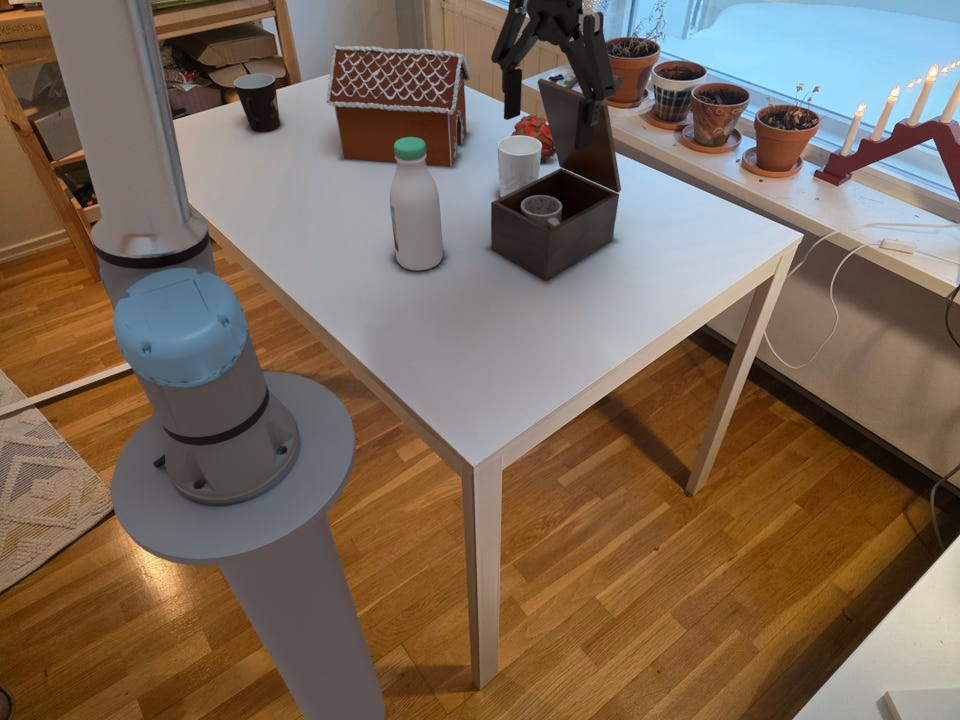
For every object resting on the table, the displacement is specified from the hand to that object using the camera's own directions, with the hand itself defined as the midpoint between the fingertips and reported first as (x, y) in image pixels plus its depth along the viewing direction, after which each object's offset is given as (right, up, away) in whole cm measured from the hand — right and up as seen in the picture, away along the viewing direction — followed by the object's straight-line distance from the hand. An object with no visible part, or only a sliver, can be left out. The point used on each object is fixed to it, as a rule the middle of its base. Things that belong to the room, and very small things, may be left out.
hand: (546, 131), depth 92 cm
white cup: (-2, -2, +30) cm, 30 cm away
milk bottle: (-19, -16, +15) cm, 29 cm away
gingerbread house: (-25, +13, +46) cm, 54 cm away
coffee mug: (-58, +19, +53) cm, 81 cm away
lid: (+6, +2, +8) cm, 10 cm away
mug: (+1, -14, +16) cm, 21 cm away
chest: (+3, -13, +17) cm, 22 cm away
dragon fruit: (+2, +10, +42) cm, 43 cm away
